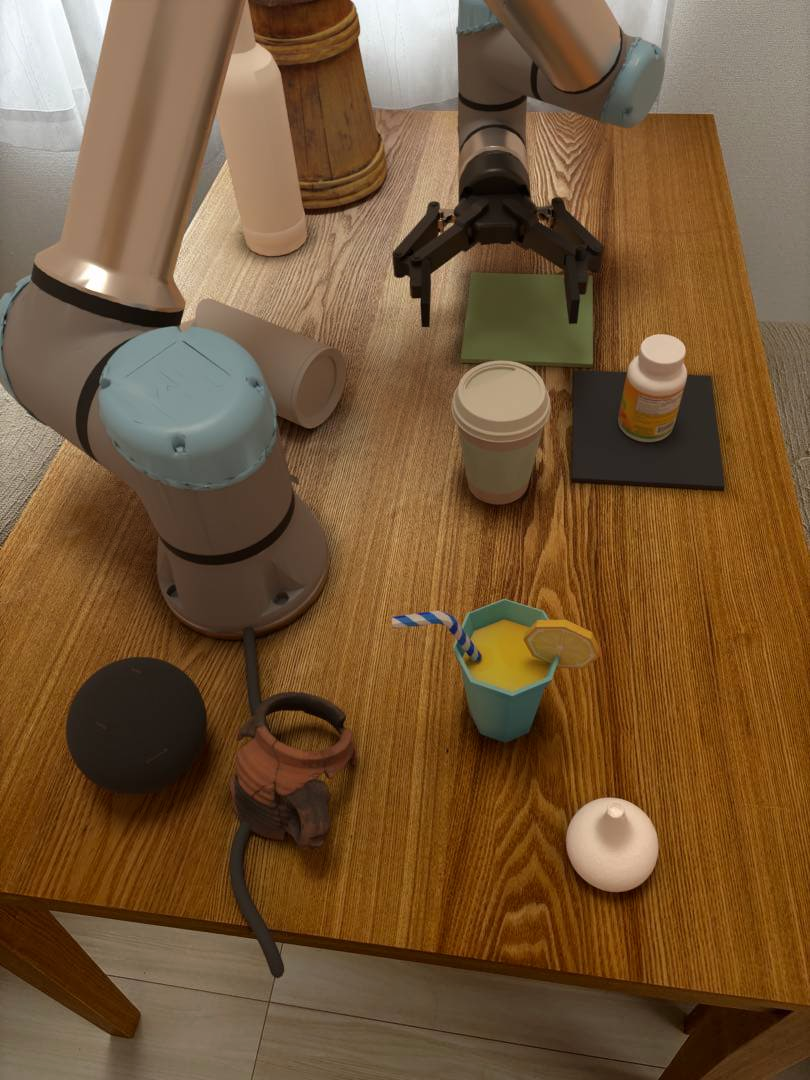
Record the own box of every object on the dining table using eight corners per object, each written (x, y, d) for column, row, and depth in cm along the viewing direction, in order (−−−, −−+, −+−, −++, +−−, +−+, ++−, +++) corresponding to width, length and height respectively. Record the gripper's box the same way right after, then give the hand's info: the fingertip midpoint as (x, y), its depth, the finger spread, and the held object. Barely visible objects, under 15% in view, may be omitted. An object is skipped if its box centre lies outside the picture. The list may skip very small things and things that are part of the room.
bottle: (285, 212, 112) (236, -52, 88) (320, 238, 108) (280, -31, 84) (233, 238, 110) (168, -28, 86) (268, 265, 106) (210, -5, 82)
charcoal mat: (723, 490, 81) (724, 486, 80) (571, 481, 83) (572, 477, 82) (710, 379, 90) (711, 375, 89) (573, 373, 91) (573, 369, 91)
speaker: (188, 828, 65) (149, 778, 57) (70, 795, 67) (16, 742, 59) (239, 709, 70) (210, 648, 62) (129, 682, 72) (87, 619, 64)
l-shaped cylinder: (295, 308, 98) (125, 370, 94) (288, 239, 89) (99, 304, 84) (364, 427, 92) (185, 500, 87) (364, 367, 82) (164, 445, 78)
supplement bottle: (622, 400, 88) (637, 324, 80) (676, 410, 87) (697, 333, 79) (613, 438, 85) (628, 362, 77) (669, 448, 84) (689, 373, 76)
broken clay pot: (208, 772, 68) (224, 689, 64) (318, 754, 72) (339, 677, 69) (256, 897, 59) (278, 810, 55) (379, 868, 64) (406, 786, 60)
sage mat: (592, 368, 92) (593, 363, 91) (460, 362, 93) (460, 358, 93) (592, 280, 101) (592, 275, 100) (471, 276, 102) (471, 272, 102)
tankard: (239, 212, 113) (191, 3, 93) (279, 120, 127) (244, -80, 107) (376, 216, 111) (356, 2, 91) (401, 121, 124) (388, -82, 104)
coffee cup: (542, 450, 85) (552, 356, 76) (542, 518, 80) (552, 427, 71) (455, 447, 86) (454, 354, 76) (450, 514, 81) (447, 424, 71)
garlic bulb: (654, 903, 60) (676, 869, 53) (562, 889, 61) (573, 854, 54) (653, 813, 63) (674, 771, 57) (566, 802, 64) (577, 759, 58)
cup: (404, 760, 67) (390, 667, 55) (404, 670, 72) (391, 566, 60) (586, 755, 66) (612, 661, 54) (574, 665, 71) (596, 560, 59)
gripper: (608, 211, 94) (631, 342, 81) (379, 219, 96) (367, 348, 83) (617, 145, 88) (644, 275, 75) (373, 154, 90) (359, 283, 77)
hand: (499, 314), depth 79 cm, fingers open, 13 cm apart
